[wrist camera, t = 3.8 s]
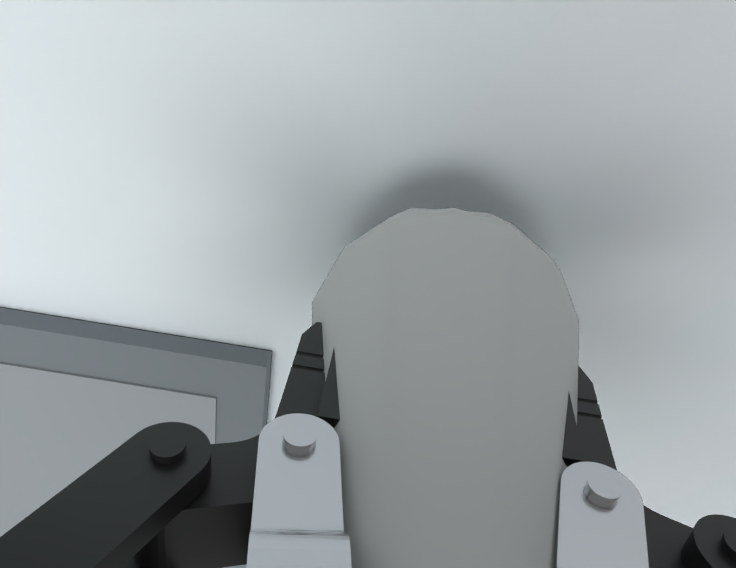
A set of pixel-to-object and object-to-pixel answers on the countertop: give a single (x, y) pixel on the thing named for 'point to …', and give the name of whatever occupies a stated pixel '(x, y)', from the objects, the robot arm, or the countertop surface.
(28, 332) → the coaster
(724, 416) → the countertop surface
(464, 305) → the grey rounded lobed piece
